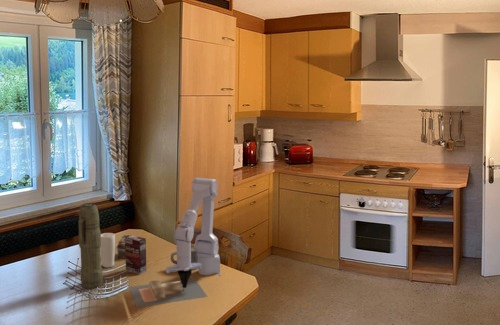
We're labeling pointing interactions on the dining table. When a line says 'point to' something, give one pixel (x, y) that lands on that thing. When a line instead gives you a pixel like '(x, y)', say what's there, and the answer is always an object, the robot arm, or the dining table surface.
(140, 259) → the supplement box
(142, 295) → the board
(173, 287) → the t block
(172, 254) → the coffee mug
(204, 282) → the dining table surface
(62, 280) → the dining table surface
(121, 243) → the cupcake
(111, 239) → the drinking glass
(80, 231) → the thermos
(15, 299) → the dining table surface
